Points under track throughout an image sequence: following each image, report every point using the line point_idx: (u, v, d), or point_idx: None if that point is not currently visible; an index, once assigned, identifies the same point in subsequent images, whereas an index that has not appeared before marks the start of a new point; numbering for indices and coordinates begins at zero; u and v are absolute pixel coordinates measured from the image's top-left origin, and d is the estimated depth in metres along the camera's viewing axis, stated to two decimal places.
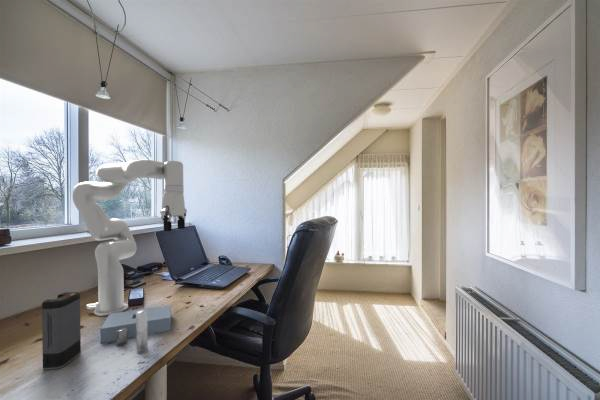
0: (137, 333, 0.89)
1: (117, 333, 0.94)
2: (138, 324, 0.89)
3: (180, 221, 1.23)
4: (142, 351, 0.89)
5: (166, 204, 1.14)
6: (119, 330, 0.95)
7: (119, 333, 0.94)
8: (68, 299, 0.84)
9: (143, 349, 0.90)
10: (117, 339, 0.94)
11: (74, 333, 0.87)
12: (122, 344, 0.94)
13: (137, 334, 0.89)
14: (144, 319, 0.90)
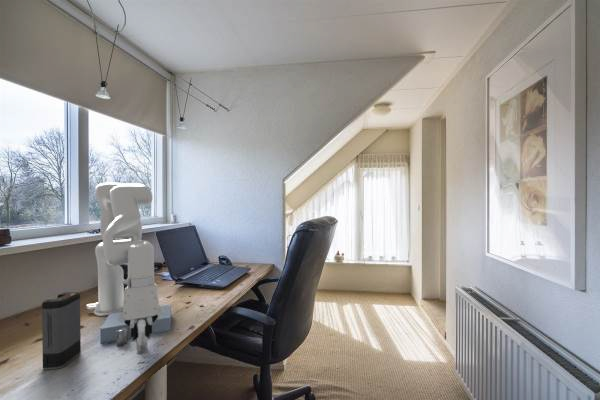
0: (137, 333, 0.89)
1: (117, 333, 0.94)
2: (138, 324, 0.89)
3: None
4: (142, 351, 0.89)
5: (158, 298, 0.93)
6: (119, 330, 0.95)
7: (119, 333, 0.94)
8: (68, 299, 0.84)
9: (143, 349, 0.90)
10: (117, 339, 0.94)
11: (74, 333, 0.87)
12: (122, 344, 0.94)
13: (137, 334, 0.89)
14: (144, 319, 0.90)
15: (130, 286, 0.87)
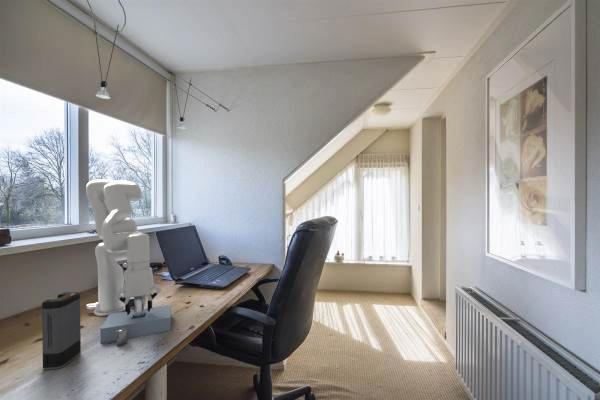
0: (135, 312, 1.06)
1: (117, 333, 0.94)
2: (135, 305, 1.05)
3: (129, 304, 1.06)
4: None
5: None
6: (119, 330, 0.95)
7: (119, 333, 0.94)
8: (68, 299, 0.84)
9: None
10: (117, 339, 0.94)
11: (74, 333, 0.87)
12: (122, 344, 0.94)
13: (135, 314, 1.06)
14: (141, 301, 1.06)
15: (129, 269, 1.04)
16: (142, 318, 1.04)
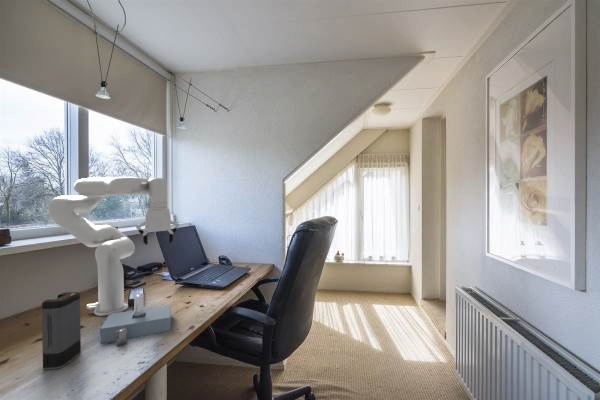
0: (135, 312, 1.06)
1: (117, 333, 0.94)
2: (135, 305, 1.05)
3: (147, 237, 1.22)
4: None
5: (170, 219, 1.26)
6: (119, 330, 0.95)
7: (119, 333, 0.94)
8: (68, 299, 0.84)
9: None
10: (117, 339, 0.94)
11: (74, 333, 0.87)
12: (122, 344, 0.94)
13: (135, 314, 1.06)
14: (141, 301, 1.06)
15: (150, 207, 1.21)
16: (142, 318, 1.04)
